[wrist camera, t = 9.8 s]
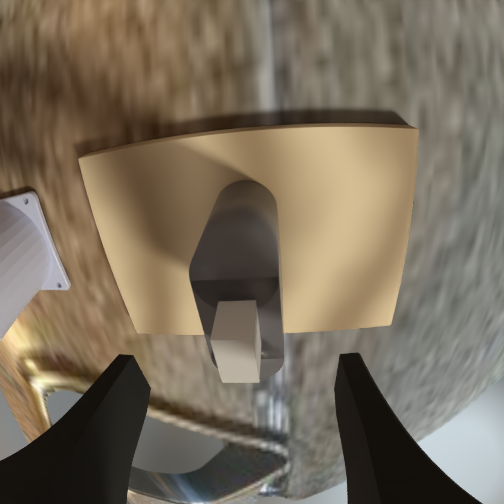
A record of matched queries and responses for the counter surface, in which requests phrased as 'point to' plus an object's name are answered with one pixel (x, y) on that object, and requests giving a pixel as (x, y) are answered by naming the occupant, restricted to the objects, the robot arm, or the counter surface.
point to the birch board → (289, 217)
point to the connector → (241, 284)
